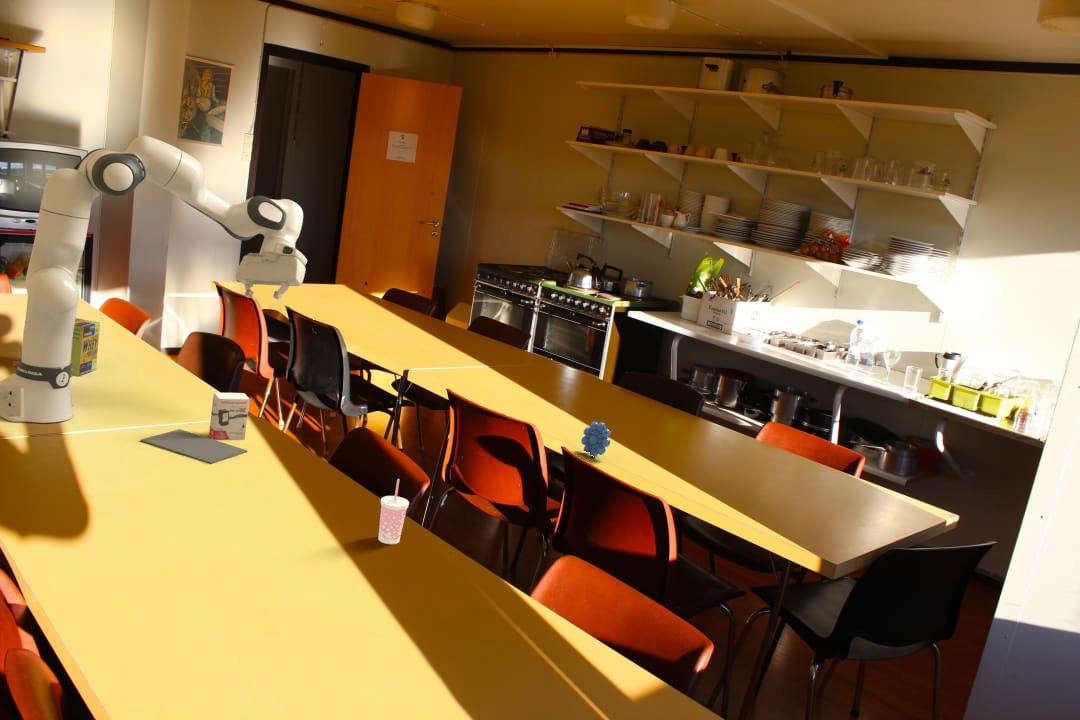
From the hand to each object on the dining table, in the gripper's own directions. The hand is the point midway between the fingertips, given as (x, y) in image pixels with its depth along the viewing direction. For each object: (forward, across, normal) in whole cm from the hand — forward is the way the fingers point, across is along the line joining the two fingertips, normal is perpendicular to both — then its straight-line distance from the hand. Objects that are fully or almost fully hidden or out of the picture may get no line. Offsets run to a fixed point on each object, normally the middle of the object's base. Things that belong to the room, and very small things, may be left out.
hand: (262, 297), depth 249 cm
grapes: (+15, +82, +76) cm, 113 cm away
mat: (+45, -2, -5) cm, 46 cm away
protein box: (+22, -72, +13) cm, 77 cm away
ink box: (+39, -2, +6) cm, 40 cm away
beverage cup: (+63, +63, -14) cm, 90 cm away
